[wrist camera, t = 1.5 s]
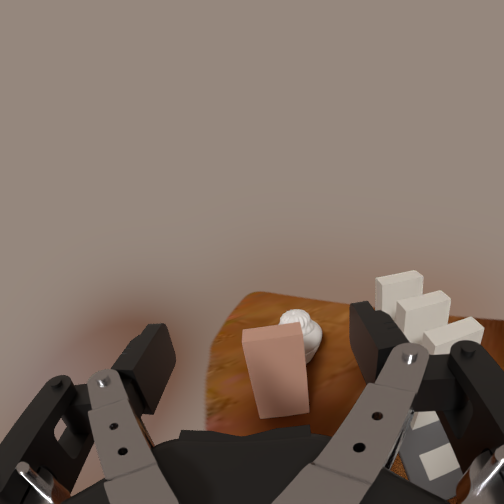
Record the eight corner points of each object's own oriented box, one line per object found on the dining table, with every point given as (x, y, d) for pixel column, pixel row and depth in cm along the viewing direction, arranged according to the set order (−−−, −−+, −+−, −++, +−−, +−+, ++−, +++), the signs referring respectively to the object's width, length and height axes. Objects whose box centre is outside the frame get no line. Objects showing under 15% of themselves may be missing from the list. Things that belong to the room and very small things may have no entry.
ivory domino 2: (434, 380, 24) (451, 298, 21) (394, 393, 25) (405, 311, 22) (427, 369, 26) (440, 289, 23) (388, 381, 27) (396, 300, 24)
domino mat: (506, 465, 11) (509, 463, 11) (419, 512, 12) (421, 510, 11) (412, 330, 34) (412, 327, 34) (352, 344, 35) (352, 342, 35)
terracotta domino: (309, 412, 26) (302, 333, 23) (260, 418, 26) (241, 342, 23) (307, 399, 28) (299, 321, 25) (260, 405, 28) (242, 329, 25)
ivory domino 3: (456, 412, 19) (484, 328, 16) (412, 430, 19) (435, 346, 17) (448, 399, 21) (471, 316, 18) (405, 415, 21) (423, 331, 18)
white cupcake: (287, 380, 31) (280, 331, 29) (267, 354, 37) (259, 308, 35) (333, 361, 33) (331, 312, 31) (308, 338, 38) (304, 293, 36)
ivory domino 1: (415, 351, 30) (423, 276, 27) (378, 362, 30) (382, 285, 27) (408, 343, 32) (415, 269, 29) (373, 352, 32) (375, 277, 29)
